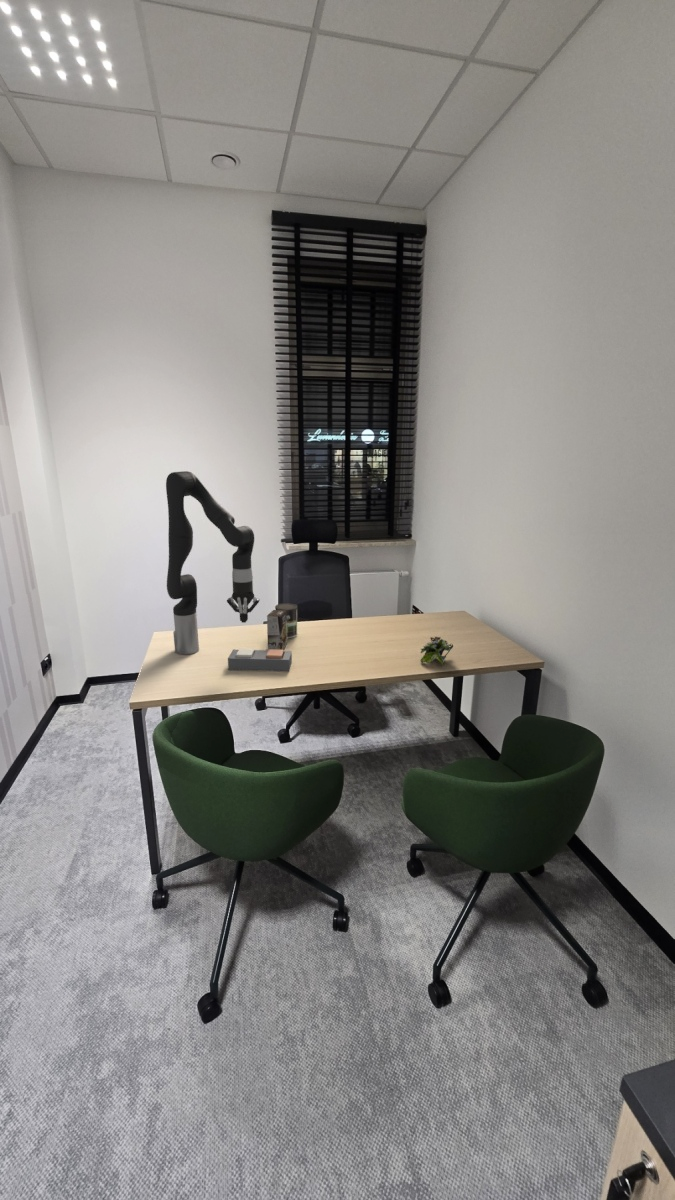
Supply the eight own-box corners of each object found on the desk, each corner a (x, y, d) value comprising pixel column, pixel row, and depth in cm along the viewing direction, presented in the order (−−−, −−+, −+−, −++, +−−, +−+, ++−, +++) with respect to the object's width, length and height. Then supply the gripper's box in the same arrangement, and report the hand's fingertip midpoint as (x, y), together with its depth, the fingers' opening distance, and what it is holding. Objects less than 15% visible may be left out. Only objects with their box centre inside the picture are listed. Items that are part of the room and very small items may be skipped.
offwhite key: (236, 661, 190) (236, 654, 189) (239, 655, 196) (239, 648, 195) (251, 662, 190) (251, 654, 189) (254, 655, 196) (254, 649, 195)
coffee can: (292, 639, 222) (292, 610, 218) (272, 637, 225) (271, 608, 221) (300, 632, 232) (300, 604, 228) (281, 629, 234) (280, 602, 230)
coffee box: (281, 652, 208) (280, 616, 203) (267, 650, 209) (266, 615, 205) (287, 644, 217) (287, 610, 212) (274, 643, 218) (273, 609, 213)
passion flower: (432, 671, 206) (447, 643, 207) (448, 678, 195) (464, 649, 196) (410, 657, 202) (425, 629, 203) (425, 663, 191) (441, 634, 192)
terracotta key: (266, 662, 190) (266, 655, 189) (269, 656, 196) (269, 649, 195) (281, 662, 190) (281, 655, 189) (283, 656, 196) (283, 649, 195)
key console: (228, 670, 190) (227, 658, 188) (233, 660, 198) (233, 649, 197) (289, 671, 189) (289, 659, 188) (291, 662, 198) (291, 650, 197)
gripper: (222, 581, 180) (224, 624, 185) (258, 582, 180) (259, 625, 185) (227, 576, 187) (229, 618, 192) (261, 577, 187) (262, 619, 192)
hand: (244, 621), depth 189 cm, fingers closed
